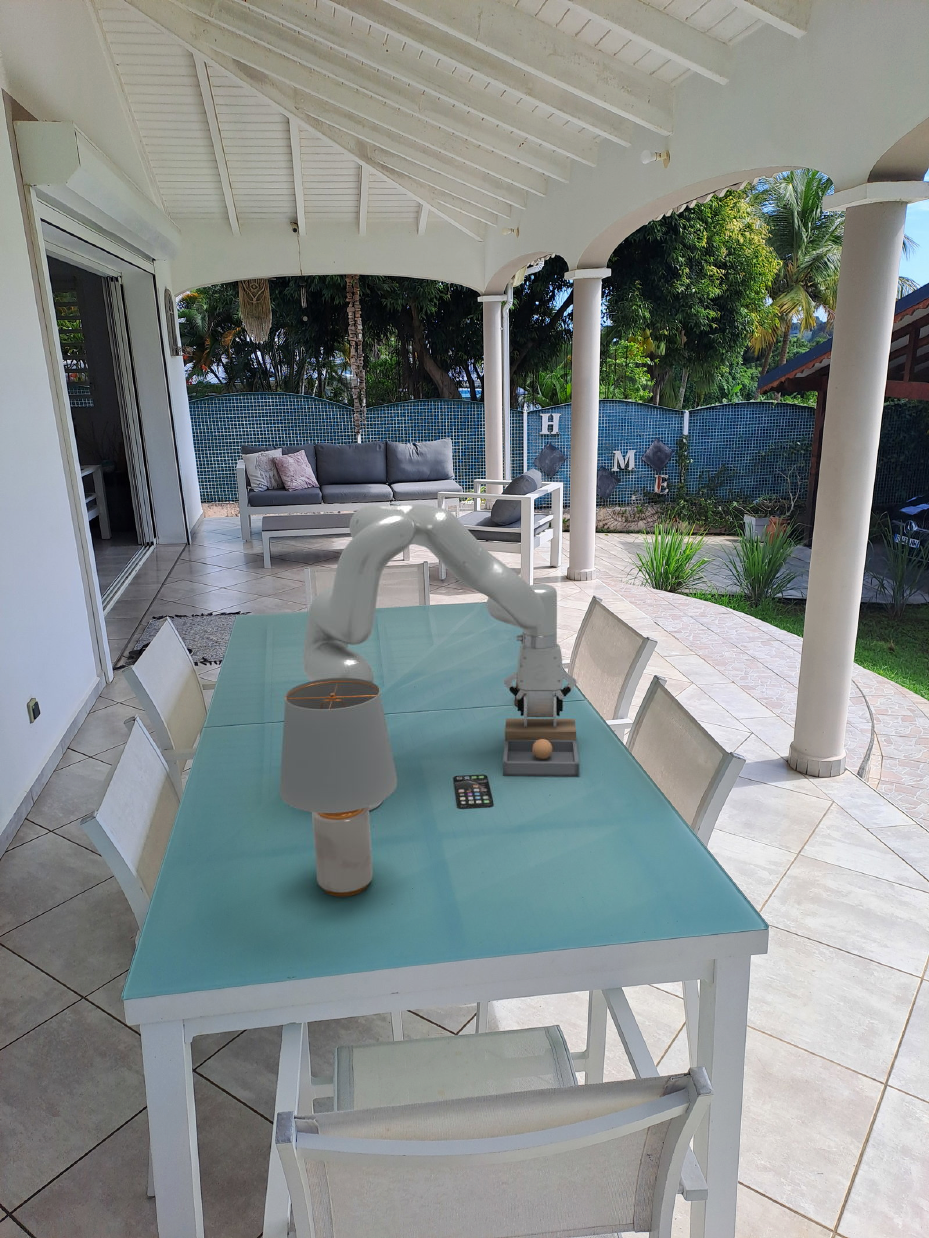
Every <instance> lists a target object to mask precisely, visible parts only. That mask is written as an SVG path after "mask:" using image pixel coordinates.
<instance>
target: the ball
mask: <svg viewBox="0 0 929 1238" xmlns="http://www.w3.org/2000/svg"><path fill="white" fill-rule="evenodd" d="M532 751H533V754H534V755H535V756H536V757H537V758H539V759H546V758H548V757H549V756H550V755H551V753H552V745H551V743H550V742H549V741H547V740H545V739H539V740H537V741H536V742H535V743H534V744H533V747H532Z"/></svg>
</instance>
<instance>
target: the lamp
mask: <svg viewBox="0 0 929 1238" xmlns="http://www.w3.org/2000/svg"><path fill="white" fill-rule="evenodd" d="M385 715H386V714H385V711H384V705H383V701H382V696H381V689H380V687H379V685H377V684H376V683H375V682H374V683H372V682H370V681H367V680H362V679H356V678H329V679H321V680H315V681H308V682H304V683H301V684H299V685H296V686H294V687H292V688H291V689H290V690H288V691H287V692H286V694H285V695H284V716H283V730H282V731H283V732H282V744H281V764H280V765H281V766H280V767H281V768H280V780H279V781H280V783H279V794H280V798H281V799H282V801H283V802H285V803H286V804H287V805H288V806H291V807H292V808H294V809H297V810H300V811H303V812H304V811H305V812H310V813H311V820H312V821H311V822H312V830H313V845H314V857H315V869H316V870H315V871H316V882H317V884H318V885H319V887H321V888H322V890H323V892H325V893H326V894H328V895H330V896H334V897H338V898H340V897H341V898H343V897H344V898H345V897H351V896H356V895H358V894H360V893H361V892H364V891H365V890H366V888H367V887H368V885H369V884H370V882H371V881H372V880H373V879H372V878H373V875H374V874H373V859H372V856H373V855H372V841H371V840H372V839H371V827H370V826H371V825H370V823H371V822H370V811H369V806H371V805H374V804H376V803H378V802H380V801H382V800H383V801H384V800H386V799H387V798H388V797H390V796H391V795H392V794H393V793H394V792H395V790H396V788H397V786H398V778H397V772H396V768H395V767H396V766H395V761H394V756H393V751H392V746H391V741H390V735H389V731H388V725H387V720H386V716H385Z"/></svg>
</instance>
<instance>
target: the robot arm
mask: <svg viewBox="0 0 929 1238" xmlns="http://www.w3.org/2000/svg"><path fill="white" fill-rule="evenodd" d="M349 533H350V536H351V538H352V539H351V540H350V541H349V542H348V544H347V545H346V546H345V547H344V549H343V550H342V553H341V554H340V557H339V558H338V561H337V566H336V571H335V576H334V581H333V586H332V587H331V588H327V589H324V590H321V592H319V593H317V595H316V596H315V597H314V599H313V600H312V602H311V603H310V606H309V609H308V613H307V619H306V626H305V632H304V634H305V635H304V644H303V651H302V652H303V653H302V668H303V673H304V675H305V677H306V678H307V680H309V682H311V681H315V680H321V679H329V678H356V679H362V680H367V681H370V682H372V683H374V684H375V682H374V673H373V672H374V671H373V669H372V667H371V665H370V664H369V662H368V660H366V658H364V657H363V656H362V655H361V654H359V653H357V652H356V651H354V650H352V649H350V648H348V647H349V645H352V646H354V645H356V646H357V645H360V644H363V643H365V642H366V641H367V640H369V637H370V636H371V634H372V632H373V630H374V623H375V615H376V608H377V600H378V593H379V587H380V580H381V577H382V574H383V571H384V569H385V568H386V567H387V565H388V564H389V563H390V561H391V560H393V559H394V558H395V557H397V556H398V555H400V554H401V553H403V552H404V551H405V550H407V549H408V548H409V547H410V546H411V545H415V546H420V547H424V548H426V549H427V550H429V551H430V553H431V554H432V555H434V557H436V558H437V559H438V561H439V562H441V564H442V565H443V566H444V567H445V568H446V569H447V570H448V571H449V572H450V573H451V574H452V575H453V576H454V577H455V578H456V579H457V580H458V581H459V582H460V583H462V584H464V585H465V586H467V587H469V588H470V589H471V590H474V591H477V592H478V593H480V594H482V595H484V596H486V597H487V600H486V609H487V612H488V614H489V616H491V617H492V618H493V619H495V620H497V621H499V622H502V623H504V624H507V625H511V626H513V627H516V628H519V629H522V632H521V634H516V641H517V642H518V641H519V642H521V641H522V643H523V644H521V643H520V646H519V650H518V658H517V668H518V670H515V671H514V672H512V673H511V674H510V675H508V676H507V677H505V678H504V680H503V684H504V686H505V687H506V688H507V689H508V690H509V692H510V693H511V694H512V695H513V696H514V698H515V697H516V698H517V699H518V707H517V712H520V716H521V717H524V696H523V694H524V693H525V691H555V693H556V717H560V716H561V713H560V712H563V710H564V708H563V706H564V699H565V697H567V695H569V693H571V692H572V690H573V688H575V686H576V685H577V682H578V681H577V679H576V678H574V677H573V676H572V675H571V674H569V673H567V672H566V671H565V670H563V669H564V668H563V656H562V649H561V645H560V644H558V637H557V636H558V592H557V589H556V588H555V587H554V586H553V585H550V584H547V583H546V584H545V583H537V584H528V583H527V581H525V580H524V579H523V578H522V577H521V576H520V575H519V574H517V573H516V572H515V571H514V570H513V569H511V568H510V567H509V566H507V565H506V564H505V563H503V561H501V560H500V559H499V558H497V557H496V556H494V554H492V553H490V552H489V551H488V550H487V549H486V548H485V547H484V546H483V544H482V543H481V542H480V541H479V540H478V539H477V537H475V536H474V535H473V534H472V533H471V532H470V531H469V530H468V528H467V527H466V526H465V525H464V524H463V523H462V522H461V521H460V520H459V518H457V516H456V515H454V514H453V513H452V512H451V511H449V510H447V509H446V508H443V507H438V506H433V505H432V506H431V505H428V504H402V505H401V504H397V505H395V504H394V505H393V504H391V505H388V504H387V505H384V504H383V505H367V506H364V507H361V508H359V509H357V511H355V513H353V515H352V516H351V518H350V522H349ZM515 680H516V681H517V682H518V688H519V689H517V688H516V685H514V684H513V683H512V682H514V681H515ZM564 681H566V682H568V683H567V685H565V686H564V687H563V683H564ZM383 802H384V800H382V801H380V802H378V803H376V804H374V805H371V806H369V812H370V811H372V810H374V809H376V808H378V807H379V806H380V805H381V804H382V803H383Z"/></svg>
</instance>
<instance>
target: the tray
mask: <svg viewBox="0 0 929 1238" xmlns="http://www.w3.org/2000/svg"><path fill="white" fill-rule="evenodd" d="M536 741H537V740H505V739H504V747H503V748H504V749H503V758H502V759H503V760H502V761H503V762H502V776H503V777H563V778H564V777H566V778H567V777H571V778H573V777H574V778H575V777H576V778H577V777H580V775H579V774H580V761H579V755H578V744H577V739H576V740H547V741H549V742H550V743H551V745H552V753H551V755H550V756H549V757H548V758H546V759H539V758H537V757H536V756H535V755H534V754H533V751H532V747H533V744H534V743H535V742H536Z"/></svg>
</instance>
